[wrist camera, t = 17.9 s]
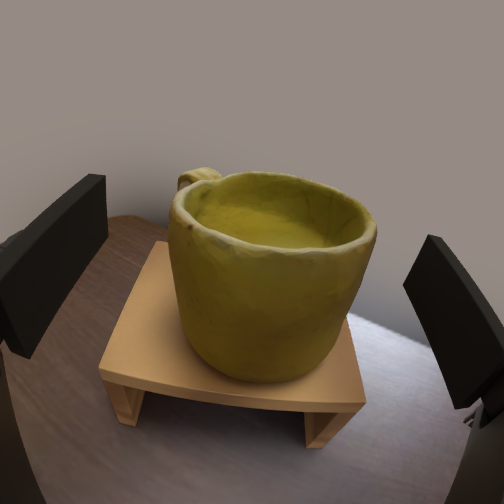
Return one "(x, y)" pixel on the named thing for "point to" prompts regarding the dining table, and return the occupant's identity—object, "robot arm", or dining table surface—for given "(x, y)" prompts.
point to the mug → (265, 269)
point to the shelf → (207, 377)
